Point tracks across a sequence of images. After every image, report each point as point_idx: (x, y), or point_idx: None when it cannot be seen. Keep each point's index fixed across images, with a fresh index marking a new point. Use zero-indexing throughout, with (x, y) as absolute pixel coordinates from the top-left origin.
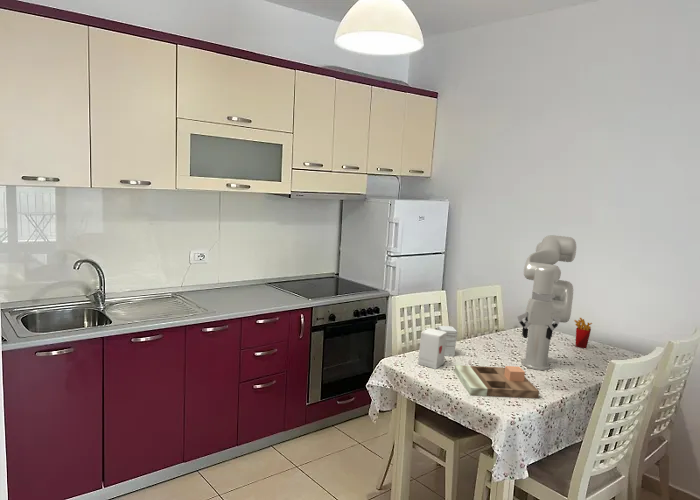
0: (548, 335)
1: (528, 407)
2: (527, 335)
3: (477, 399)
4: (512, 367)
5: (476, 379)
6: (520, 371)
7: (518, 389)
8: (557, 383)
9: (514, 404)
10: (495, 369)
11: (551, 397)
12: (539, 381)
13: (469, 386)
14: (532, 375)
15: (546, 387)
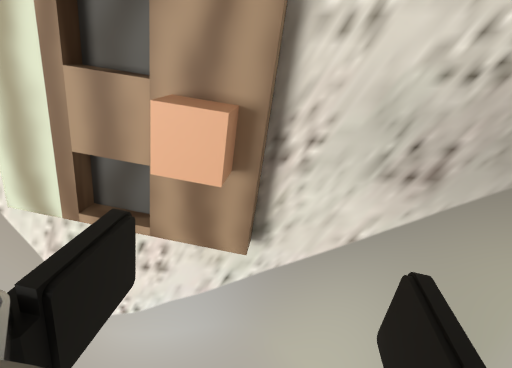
0: (394, 360)
1: (184, 284)
2: (117, 304)
3: (48, 223)
4: (182, 123)
5: (36, 137)
6: (201, 177)
7: (172, 235)
8: (445, 117)
9: (150, 264)
10: (154, 11)
11: (306, 238)
12: (366, 89)
13: (6, 190)
14: (385, 4)
15: (351, 156)
